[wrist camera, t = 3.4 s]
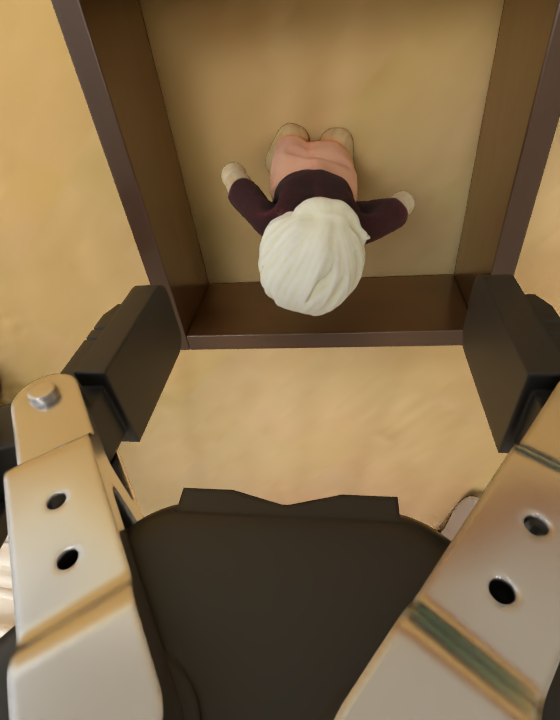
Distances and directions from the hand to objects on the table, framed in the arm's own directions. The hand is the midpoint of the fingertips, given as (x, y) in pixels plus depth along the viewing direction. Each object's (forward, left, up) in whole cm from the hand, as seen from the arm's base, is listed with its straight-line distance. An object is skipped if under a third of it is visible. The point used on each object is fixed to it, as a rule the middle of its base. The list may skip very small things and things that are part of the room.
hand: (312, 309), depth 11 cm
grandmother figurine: (0, 0, -14) cm, 14 cm away
